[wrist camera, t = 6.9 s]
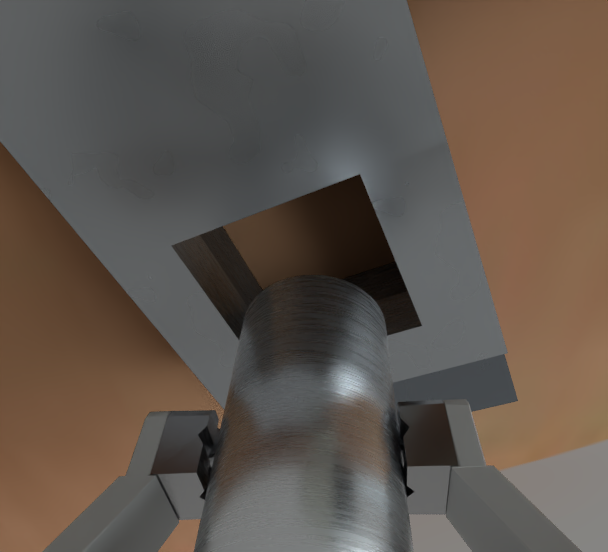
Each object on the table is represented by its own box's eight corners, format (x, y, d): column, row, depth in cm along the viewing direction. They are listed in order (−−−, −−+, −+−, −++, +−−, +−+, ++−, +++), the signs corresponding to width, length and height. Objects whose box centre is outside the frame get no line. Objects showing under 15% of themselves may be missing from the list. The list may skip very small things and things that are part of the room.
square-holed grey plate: (295, 420, 25) (291, 490, 22) (-13, -7, 14) (-101, 21, 11) (505, 367, 22) (532, 439, 19) (331, -216, 11) (334, -251, 8)
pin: (274, 400, 16) (225, 807, 9) (203, 294, 14) (56, 734, 6) (416, 366, 15) (493, 804, 8) (366, 242, 12) (410, 714, 5)
